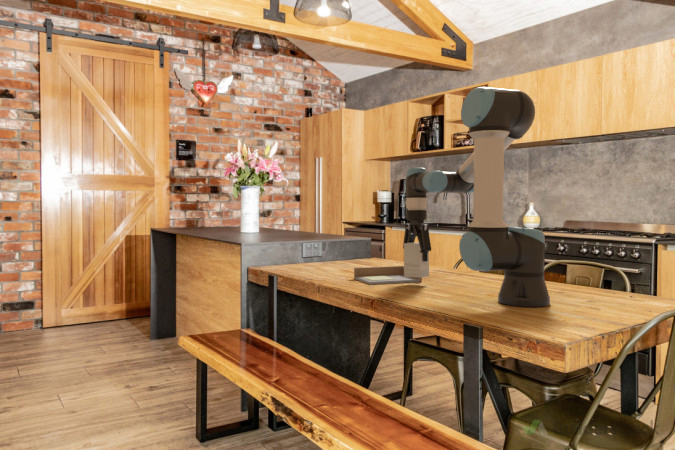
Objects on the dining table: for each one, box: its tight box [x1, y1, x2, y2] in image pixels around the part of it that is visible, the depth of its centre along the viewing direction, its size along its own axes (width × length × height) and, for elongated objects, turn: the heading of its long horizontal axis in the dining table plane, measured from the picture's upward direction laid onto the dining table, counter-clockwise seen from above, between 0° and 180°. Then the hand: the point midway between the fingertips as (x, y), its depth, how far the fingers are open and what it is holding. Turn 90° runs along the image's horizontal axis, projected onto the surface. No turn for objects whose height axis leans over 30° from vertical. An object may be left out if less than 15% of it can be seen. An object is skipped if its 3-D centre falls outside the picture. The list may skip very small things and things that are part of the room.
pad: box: [362, 276, 395, 281], centre depth 210 cm, size 10×10×1 cm
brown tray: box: [353, 265, 423, 286], centre depth 211 cm, size 16×22×4 cm
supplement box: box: [403, 242, 430, 279], centre depth 199 cm, size 7×7×13 cm
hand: (416, 269), depth 199 cm, fingers closed on supplement box, 10 cm apart
